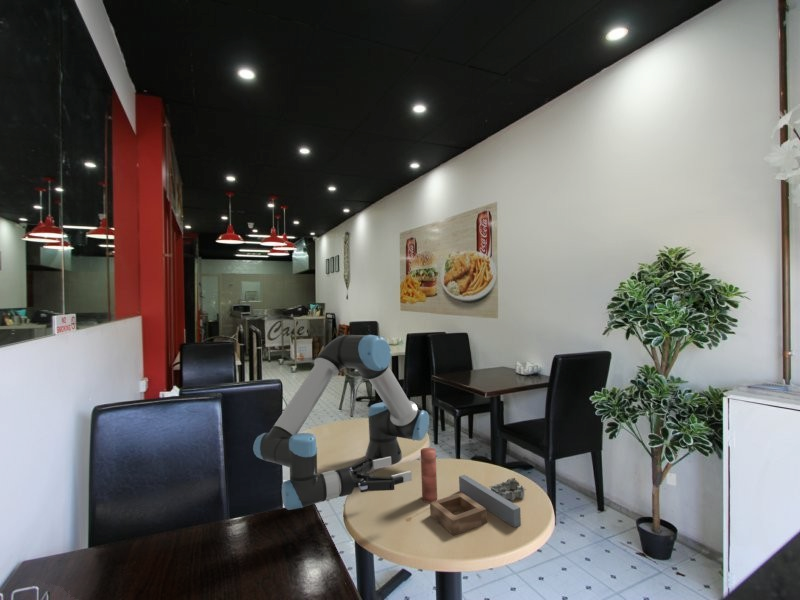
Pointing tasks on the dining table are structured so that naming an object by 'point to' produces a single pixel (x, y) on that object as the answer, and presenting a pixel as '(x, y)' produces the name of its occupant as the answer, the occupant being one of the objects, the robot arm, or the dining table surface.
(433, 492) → the dowel
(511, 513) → the backstop wall
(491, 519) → the dining table surface
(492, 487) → the grey rough frame
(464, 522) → the socket block
